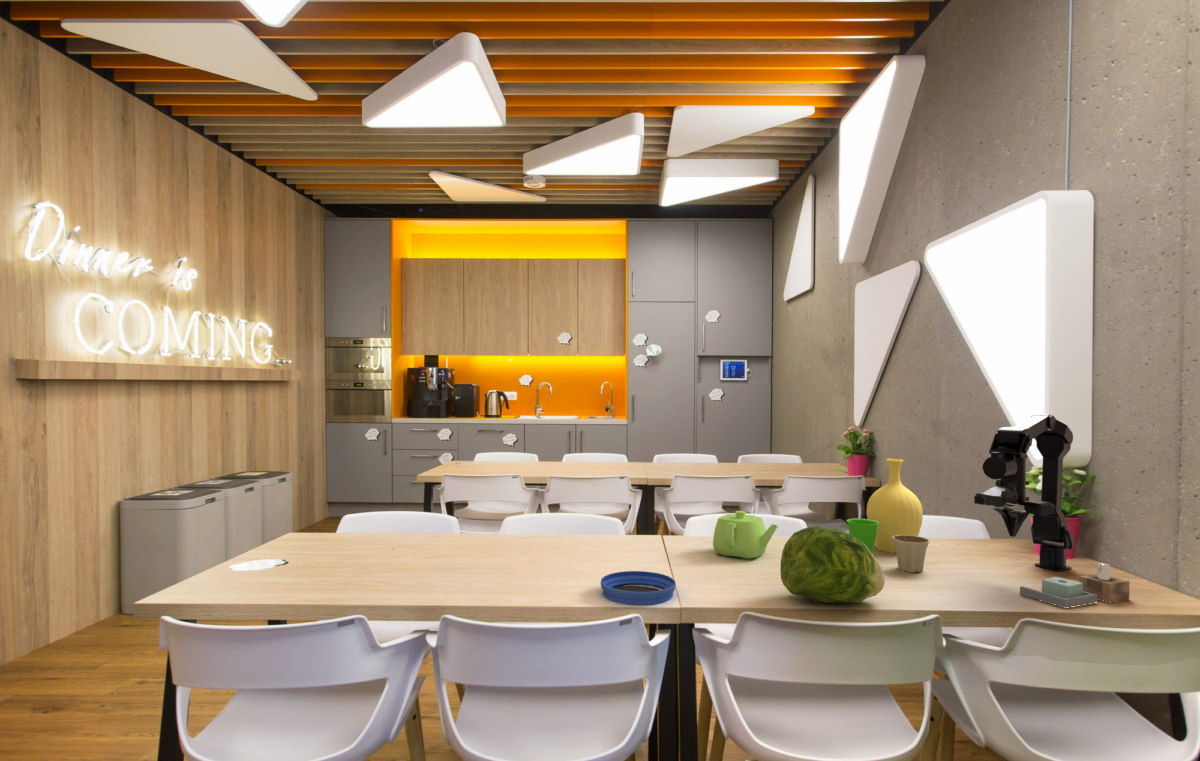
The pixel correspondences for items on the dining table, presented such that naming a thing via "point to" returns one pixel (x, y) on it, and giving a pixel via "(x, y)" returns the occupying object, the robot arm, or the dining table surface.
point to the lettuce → (830, 566)
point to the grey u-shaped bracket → (1053, 599)
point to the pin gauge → (1104, 571)
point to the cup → (864, 531)
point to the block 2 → (1106, 588)
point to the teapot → (741, 535)
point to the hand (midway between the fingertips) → (1012, 536)
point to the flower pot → (910, 552)
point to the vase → (894, 510)
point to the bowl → (637, 587)
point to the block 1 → (1062, 587)
